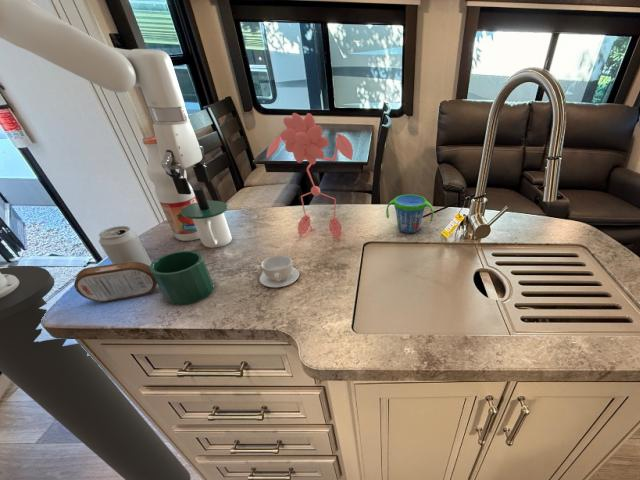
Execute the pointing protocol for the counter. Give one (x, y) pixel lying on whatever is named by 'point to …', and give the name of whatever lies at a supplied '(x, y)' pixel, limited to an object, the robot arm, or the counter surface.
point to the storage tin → (182, 277)
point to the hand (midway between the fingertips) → (194, 187)
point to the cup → (213, 231)
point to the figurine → (310, 156)
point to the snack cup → (409, 212)
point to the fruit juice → (170, 194)
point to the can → (123, 245)
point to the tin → (115, 281)
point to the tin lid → (203, 207)
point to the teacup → (278, 271)
